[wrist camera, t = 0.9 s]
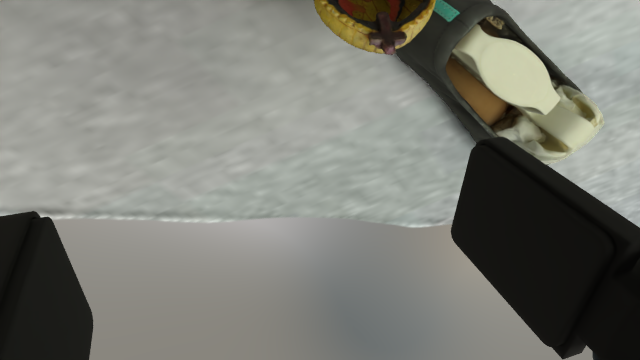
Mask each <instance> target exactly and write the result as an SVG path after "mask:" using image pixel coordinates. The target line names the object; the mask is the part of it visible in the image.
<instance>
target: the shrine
mask: <svg viewBox="0 0 640 360" xmlns="http://www.w3.org/2000/svg"><path fill="white" fill-rule="evenodd" d="M314 1H315V2H314V4H315V8H316V11H317V13H318V14H319V15H320V18H321V19H322V21H323V22H324V23H325V24H326V26H328V27H329V28H330V29H331V30H332V32H334V33H335V34H336V35H337V36H339V37H340V38H341V39H343V40H344V41H346V42H347V43H349V44H350V45H353V46H355V47H357V48H360V49H363V50H366V51H368V52H375V53H380V54H382V53H385V54H391V55H393V54H395V53H396V49H398V48H400V47H402V46H404V45H406V44H407V43H409V42H410V41H411V40H412V39H413V38H414V37H415V36H416V35H417V34H418V33H419V32H420V31H421V30H422V29H423V27H424V26H425V25H426V23H427V22H428V20H429V19H430V16H431V14H432V11H433V9H434V6H435V2H436V0H314Z"/></svg>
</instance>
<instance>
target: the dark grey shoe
mask: <svg viewBox="0 0 640 360" xmlns="http://www.w3.org/2000/svg"><path fill="white" fill-rule="evenodd" d="M396 53H397V55H398V56H399V58H400V59H401V60H402V61H403V62H404V63H405V64H407V65H408V66H410V67H411V68H412V69H413V70H414V71H415V72H416V73H417V74H418V75H419V76H420V77H422V78H423V79H424V80H425V81H426V82H427V83H428V84H429V85H430V86H431V87H432V88H433V89H434V90H435V91H436V93H437V94H438V95H439V96H440V97H441V98H442V99H443V100H444V101H445V102H446V103H447V104H448V105H449V107H450V108H451V109H452V110H453V111H454V113H455V114H456V115H457V117H458V118H459V119H460V121H461V122H462V123H463V125H464V126H465V127H466V129H467V130H468V131H469V132H470V134H471V136H472V137H473V138H474V140H475V141H476V143H478V141H480V140H482V139H488V138H494V137H505V138H507V139H509V140H510V141H512V142H513V143H515V144H516V145H518V146H519V147H521V148H522V149H524V150H525V151H527V152H528V153H530V154H531V155H533V156H534V157H536V158H537V159H538V160H540V161H541V162H543V163H544V164H546V165H549V164H551V163H555V162H559V161H561V160H563V159H565V158H567V157H568V156H570V155H571V154H573V153H574V152H576V151H577V150H579V149H580V148H582V147H583V146H584V145H586V144H587V143H588V142H589V141H590V140H591V139H592V138H593V137H594V136H595V135H596V133H597V132H598V131H599V130H600V129H601V127H602V126H603V125H604V119H603V116H602V114H601V112H600V111H599V109H598V107H597V105H596V104H595V103H594V102H593V101H592V100H590V99H589V98H588V97H587V96H586V95H584V94H583V93H582V92H581V90H580V89H579V88H578V87H577V86H576V85H575V84H574V83H573V82H572V81H571V80H570V79H569V78H568V77H566V76H565V74H563V73H562V72H561V70H559V68H558V67H557V66H556V65H555V64H554V63H553V62H552V61H551V60H550V59H549V58H548V57H547V56H546V55H545V54H544V53H543V52H542V51H541V50H540V49H539V48H538V47H537V46H536V45H535V44H534V43H533V42H532V41H531V40H530V38H529V37H528V36H526V34H525V33H524V32H523V31H522V30H521V29H520V28H519V26H518V25H517V24H516V23H515V22H514V20H513V19H512V18H511V17H510V15H509V14H508V13H506V11H505V10H503V9H501V8H500V7H498V6H496V5H493V4H492V2H491V1H490V0H436V2H435V6H434V9H433V11H432V14H431V16H430V19H429V20H428V22H427V23H426V25H425V26H424V27H423V29H422V30H421V31H420V32H419V33H418V34H417V35H416V36H415V37H414V38H413V39H412V40H411V41H410V42H409V43H407V44H406V45H404V46H402V47H400V48H398V49H396Z"/></svg>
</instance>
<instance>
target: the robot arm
mask: <svg viewBox="0 0 640 360" xmlns="http://www.w3.org/2000/svg"><path fill="white" fill-rule="evenodd" d="M451 235H452V238H453V241H454V242H455V243H456V245H457V246H458V247H459V248H460V249H461V250H462V251H463V253H464V254H465V255H466V256H467V257H468V258H469V259H470V260H471V262H472V263H473V264H474V265H475V266H476V267H477V268H478V270H479V271H480V272H481V273H482V274H483V275H484V276H485V277H486V279H487V280H488V281H489V282H490V283H491V284H492V285H493V287H494V288H495V289H496V290H497V291H498V292H499V293H500V294H501V295H502V297H503V298H504V299H505V300H506V301H507V302H508V304H509V305H510V306H511V307H512V308H513V309H514V310H515V311H516V313H517V314H518V315H519V316H520V317H521V318H522V319H523V320H524V322H525V323H526V324H527V325H528V326H529V327H530V328H531V330H532V331H533V332H534V333H535V334H536V335H537V336H538V337H539V339H540V340H541V341H542V342H543V343H544V344H545V345H547V346H549V347H552V348H553V349H554V350H555V351H556V353H557V354H558V355H559V356H560V357H561V358H562V359H565V358H568V357H571V356H574V355H576V354H580V353H582V351H583V350H584V348H585V346H586V345H587V346H588V347H589V348H590V349H591V350H592V351H593V360H640V228H639V227H638V226H636V225H635V224H633V223H632V222H630V221H629V220H627V219H626V218H624V217H623V216H621V215H620V214H618V213H617V212H615V211H614V210H612V209H611V208H610V207H608V206H607V205H605V204H604V203H602V202H601V201H599V200H598V199H596V198H595V197H593V196H592V195H590V194H589V193H587V192H586V191H584V190H583V189H581V188H580V187H578V186H577V185H575V184H574V183H573V182H571V181H570V180H568V179H567V178H565V177H564V176H562V175H561V174H559V173H558V172H556V171H555V170H553V169H552V168H550V167H549V166H547V165H546V164H544V163H543V162H541V161H540V160H538V159H537V158H536V157H534V156H533V155H531V154H530V153H528V152H527V151H525V150H524V149H522V148H521V147H519V146H518V145H516V144H515V143H513V142H512V141H510V140H509V139H507V138H505V137H494V138H488V139H482V140H480V141H478V143H477V144H476V146H475V147H474V148H473V149H472V150H471V153H470V157H469V161H468V165H467V169H466V173H465V176H464V180H463V184H462V188H461V192H460V196H459V200H458V204H457V208H456V212H455V216H454V220H453V223H452V228H451ZM92 332H93V317H92V312H91V309H90V307H89V304H88V302H87V300H86V297H85V295H84V293H83V291H82V288H81V286H80V284H79V281H78V279H77V277H76V274H75V272H74V270H73V267H72V265H71V263H70V261H69V258H68V256H67V253H66V251H65V249H64V247H63V244H62V242H61V240H60V237H59V235H58V233H57V230H56V228H55V225H54V223H53V221H52V219H51V218H50V217H43V218H41V217H40V216H39V214H38V213H37V212H34V211H31V212H25V213H19V214H13V215H6V216H0V360H89V355H90V348H91V340H92Z"/></svg>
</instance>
